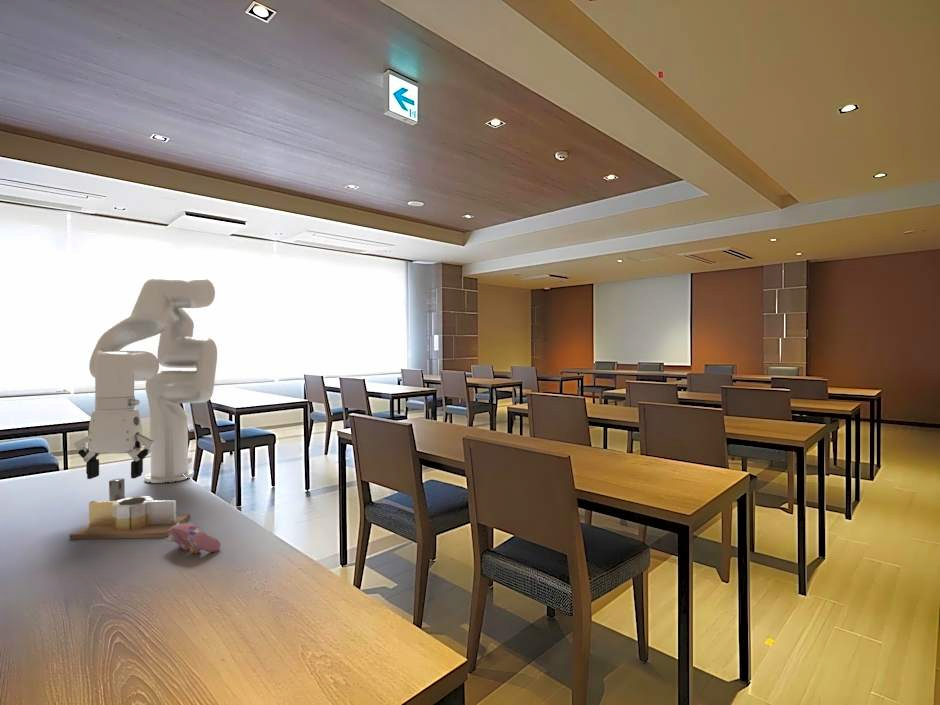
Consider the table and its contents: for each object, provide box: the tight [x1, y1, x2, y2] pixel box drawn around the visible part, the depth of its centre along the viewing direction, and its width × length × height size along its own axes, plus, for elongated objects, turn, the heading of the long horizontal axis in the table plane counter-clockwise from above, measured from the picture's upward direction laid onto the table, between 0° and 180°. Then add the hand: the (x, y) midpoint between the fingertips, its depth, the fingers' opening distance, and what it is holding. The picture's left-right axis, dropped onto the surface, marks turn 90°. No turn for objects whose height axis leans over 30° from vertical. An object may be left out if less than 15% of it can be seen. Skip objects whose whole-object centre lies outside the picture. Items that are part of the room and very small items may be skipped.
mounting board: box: [69, 513, 191, 540], centre depth 111 cm, size 11×19×1 cm, turn 94°
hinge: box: [88, 495, 177, 530], centre depth 111 cm, size 7×18×5 cm, turn 94°
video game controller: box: [167, 522, 221, 554], centre depth 100 cm, size 10×5×7 cm, turn 63°
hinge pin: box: [108, 478, 126, 501], centre depth 120 cm, size 3×3×8 cm
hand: (114, 477), depth 119 cm, fingers open, 9 cm apart
